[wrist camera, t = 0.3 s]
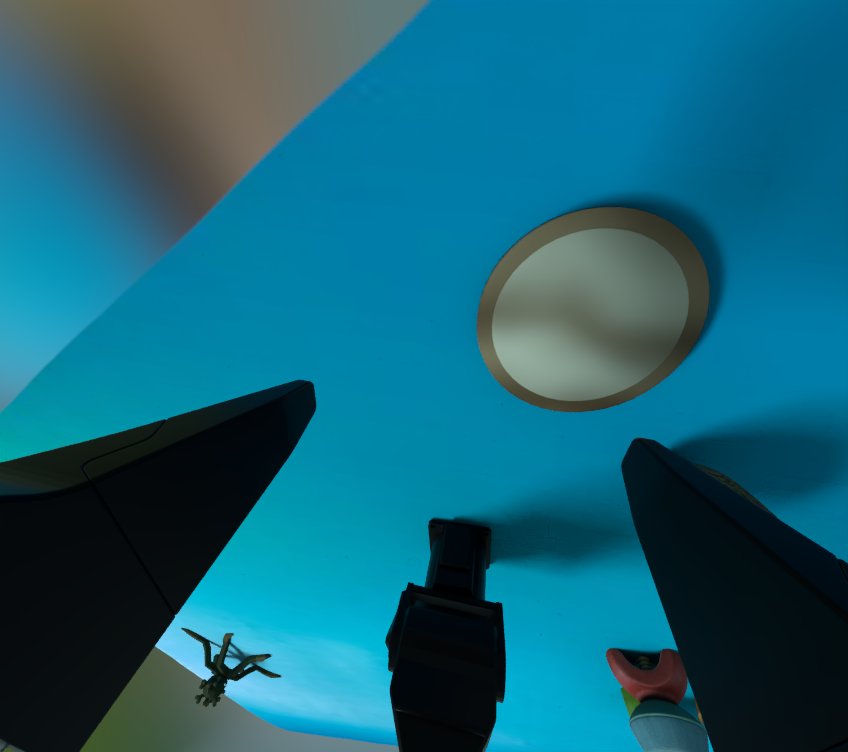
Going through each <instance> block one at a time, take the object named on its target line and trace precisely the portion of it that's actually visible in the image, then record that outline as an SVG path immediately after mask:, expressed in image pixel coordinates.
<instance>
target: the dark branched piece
mask: <svg viewBox="0 0 848 752" xmlns="http://www.w3.org/2000/svg"><path fill="white" fill-rule="evenodd" d="M181 629H182V630H183V631H185V632H186V633H187V634H188V635H190V636H191V637H193V638H194V639H196V640H198V641H200V642H201V643H203V647H204V651H205V666H206V667H207V668H208V669H210V670H211V671H212V672H211V673H212V674H214V676H212V677H211V678H210V679H209V680H208V681H206V680H202V683H201V685H200V687H199V689H202V688H203V687H204V688H203V694H201V695H196V697H195V699H197V701H196V703H197V704H198V703H199V702H200V700H201V698H202V697H205V698H206V699H205V701H204V702H203V706H205V707H207V706H208V705H209V703H212V702H213V707H215V706H216V703H217V702H219V701H220V697H218V696H219V695H220V694H221V693H223V694H224V693H225V690H224V688H225V687H226V686H224V683H226V684H227V680H230V679H231V680H234V681H238V680H239V679H241V678H243V677H244V676H246V675H247V674H249V673H251V672H254V671H255V670H257V671H259V672H260V673H262V674H264V675H266V676H268V677H270V678H278V677H281V676H280V675H278V674H274V673H272V672H269V671H267V670H265V669H263V668H261V667H260V666H257V665H255V666H252V667H249V668H248V669H246V670H245V671H244V670H243V669H244V668H245V667H246V666H247V665H248V664H250V663H253V662H256V661H264V660H265V659H267V658H269V657H271V656H270V655H269V654H262V655H252V656H249V657H248V658H247V659H245V660H244V661H243V662H242V663H240V664H239V665H238V666H236V667H235V668H233V669H229V668H228V667H227V666H226V665H225V664H224V660H225V657H226V654H227V650H228V647H229V644H230V637H231V636H233V635H234V634H233V633H226V634H225V636H224V638H223V645H222V648H221V651H220V655H218V654H216V655H215V656H214V659H213V662H211V646H210V643H209V640H207V639H205V638H203V637H202V636H200V635H198V634H196V633H194V632H192V631H190V630H189V629H185V628H181ZM239 672H240V674H238V673H239Z"/></svg>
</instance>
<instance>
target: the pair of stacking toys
mask: <svg viewBox="0 0 848 752" xmlns="http://www.w3.org/2000/svg"><path fill="white" fill-rule="evenodd" d="M606 657H607V661H608V663H609V666H610V668H611V670H612V672H613V674H614V676H615V677H616V679H617V680H618V682H619V683H620V684H621V685H622V688H621V692H622V695H623V698H624V701H625V704H626V707H627V710H628V713H629V716H630V720H629V726H630V728H631V730H632V732H633V734H634V735H635V737H636V739H637V741H638V742H639V744H640V746H641V748H642V749H643V751H644V752H709V747H708V737H707V731H706V729H705V728H704V727H703V725H702V724H704V723H703V720H702V717H701V714H700V711H699V708H698V705H697V703H696V700H695V704H696V709H697V716H698V719H699V720H700V722H701V723H702V724H701V723H700V722H699V721H698V720H696V719H695V718H694V717H693V716H692V715H691V714H689V713H688V712H687V711H685V710H684V709H682V708H681V707H679V706H678V703H679V702H680V701H681V700H682V699H683V697H684V695H685V693H686V689H687V674H686V671H685V668H684V666H683V663H682V660H681V657H680V655H679V654H678V653H677V652H675V651H673V650H671V649H663V650H662V651H661V653H660V661H659V663H658V665H657V666H656V667H655V668H654V669H653V668H652V664H651V661H650V660H649V658H647V657H642V656H641V657H637V658H636V659H637V662H638V664H639V668H640V669H639V668H636V667H635V666H633V665H632V664H630V663H629V662H628V661H627V660H626V658H625V657H624V656H623V654H622V653H621V652H620V651H619V650H617V649H615V648H610V649H608V650H607V652H606ZM694 698H695V697H694Z"/></svg>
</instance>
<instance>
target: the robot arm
mask: <svg viewBox="0 0 848 752" xmlns="http://www.w3.org/2000/svg"><path fill="white" fill-rule="evenodd" d="M315 410H316V398H315V390H314V385H313V383H312V382H310V381H305V380H296V381H292V382H289V383H286V384H282V385H279V386H275V387H272V388H269V389H265V390H262V391H259V392H255V393H252V394H248V395H245V396H242V397H238V398H235V399H232V400H228V401H225V402H221V403H218V404H215V405H211V406H208V407H205V408H201V409H198V410H194V411H191V412H188V413H184V414H181V415H178V416H174V417H171V418H168V419H167V420H165V419H164V420H160V421H157V422H154V423H150V424H147V425H143V426H140V427H136V428H133V429H129V430H126V431H122V432H119V433H115V434H111V435H107V436H104V437H100V438H96V439H92V440H89V441H85V442H81V443H77V444H73V445H69V446H65V447H61V448H57V449H53V450H49V451H45V452H41V453H37V454H33V455H30V456H26V457H22V458H18V459H14V460H10V461H5V462H1V463H0V752H4V751H5V750H6V749H7V748H8V749H10V750H12V751H15V752H80V750H81V749H82V747H83V746H84V745H85V743H86V742H87V740H88V739H89V737H90V736H91V735H92V733H93V732H94V730H95V729H96V728H97V726H98V725H99V723H100V722H101V721H102V719H103V718H104V716H105V715H106V714H107V712H108V711H109V709H110V708H111V706H112V705H113V704H114V702H115V701H116V700H117V698H118V697H119V695H120V694H121V693H122V691H123V690H124V688H125V687H126V686H127V684H128V683H129V681H130V680H131V678H132V677H133V676H134V674H135V673H136V671H137V670H138V669H139V667H140V666H141V664H142V663H143V662H144V660H145V659H146V657H147V656H148V654H149V653H150V652H151V650H152V649H153V648H154V646H155V645H156V643H157V642H158V641H159V639H160V638H161V636H162V635H163V634H164V632H165V631H166V629H167V628H168V627H169V625H170V624H171V622H172V621H173V620H174V618H175V615H176V614H177V613H178V612H179V611H180V609H181V608H182V607H183V605H184V604H185V602H186V601H187V599H188V598H189V597H190V595H191V594H192V592H193V591H194V590H195V588H196V587H197V585H198V584H199V583H200V581H201V580H202V578H203V577H204V576H205V574H206V573H207V571H208V570H209V569H210V567H211V566H212V564H213V563H214V562H215V560H216V559H217V557H218V556H219V555H220V553H221V552H222V550H223V549H224V548H225V546H226V545H227V543H228V542H229V541H230V539H231V538H232V536H233V535H234V533H235V532H236V531H237V529H238V528H239V526H240V525H241V524H242V522H243V521H244V519H245V518H246V517H247V515H248V514H249V512H250V511H251V510H252V508H253V507H254V505H255V504H256V503H257V501H258V500H259V498H260V497H261V496H262V494H263V493H264V491H265V490H266V489H267V487H268V486H269V484H270V483H271V482H272V480H273V479H274V477H275V476H276V475H277V473H278V472H279V470H280V469H281V467H282V466H283V465H284V463H285V462H286V460H287V459H288V458H289V456H290V455H291V453H292V452H293V450H294V448H295V447H296V445H297V443H298V441H299V439H300V438H301V436H302V434H303V432H304V431H305V429H306V427H307V425H308V423H309V422H310V420H311V418H312V416H313V415H314V413H315ZM621 469H622V474H623V479H624V483H625V487H626V492H627V496H628V501H629V505H630V509H631V514H632V518H633V522H634V525H635V528H636V531H637V534H638V537H639V540H640V543H641V546H642V549H643V551H644V554H645V557H646V560H647V563H648V566H649V569H650V571H651V574H652V577H653V580H654V583H655V586H656V589H657V591H658V594H659V597H660V600H661V603H662V606H663V609H664V611H665V614H666V617H667V620H668V623H669V626H670V628H671V631H672V634H673V637H674V640H675V643H676V646H677V648H678V651H679V654H680V657H681V660H682V663H683V666H684V668H685V671H686V674H687V677H688V680H689V683H690V685H691V688H692V691H693V694H694V697H695V700H696V703H697V705H698V708H699V711H700V714H701V717H702V720H703V723H704V725H705V728H706V731H707V734H708V737H709V740H710V742H711V745H712V748H713V751H714V752H848V563H847V562H845V561H843V560H842V559H837V558H836V556H835V555H834V554H832V553H831V552H829V551H828V550H826V549H824V548H823V547H821V546H820V545H818V544H817V543H815V542H813V541H812V540H810V539H809V538H807V537H806V536H804V535H802V534H801V533H799V532H798V531H796V530H795V529H793V528H791V527H790V526H788V525H787V524H785V523H784V522H782V521H781V520H779V519H777V518H776V517H774V516H773V515H771V514H770V513H768V512H766V511H765V510H763V509H762V508H760V507H759V506H757V505H755V504H754V503H752V502H751V501H749V500H748V499H746V498H744V497H743V496H741V495H740V494H738V493H737V492H735V491H733V490H732V489H730V488H729V487H727V486H726V485H724V484H722V483H721V482H719V481H718V480H716V479H715V478H713V477H711V476H710V475H708V474H707V473H705V472H704V471H702V470H701V469H699V468H697V467H696V466H694V465H693V464H691V463H690V462H688V461H686V460H685V459H683V458H682V457H680V456H679V455H677V454H675V453H674V452H672V451H671V450H669V449H668V448H666V447H664V446H663V445H661V444H660V443H658V442H657V441H655V440H651V439H645V438H635V439H634V440H633V441H632V442H631V444H630V446H629V448H628V450H627V452H626V454H625V456H624V458H623V461H622V465H621ZM428 528H429V540H430V551H431V556H430V561H429V566H428V571H427V577H426V582H425V587H422V586H418V585H414V583H410V582H408V585H407V588H406V590H405V591H402V593H401V597H400V601H399V605H398V609H397V612H396V615H395V617H394V619H393V622H392V624H391V626H390V629H389V631H388V633H387V636H386V641H385V643H386V646H387V648H388V650H389V653H388V658H389V662H388V670H389V671H391V672H393V675H392V680H391V685H390V697H391V703H392V710H393V716H394V722H395V728H396V735H397V741H398V747H399V752H485V750H486V748H487V746H488V743H489V740H490V737H491V734H492V731H493V728H494V725H495V722H496V701H497V702H500V703H503V701H504V694H505V679H506V653H505V637H504V622H503V607H502V603H499V602H496V603H494V602H489V601H485V582H486V569H489V565H490V547H491V530H490V529H489V528H486V527H479V526H472V525H465V524H458V523H451V522H444V521H436V520H430V521H429V525H428Z"/></svg>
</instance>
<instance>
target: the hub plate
mask: <svg viewBox="0 0 848 752" xmlns="http://www.w3.org/2000/svg"><path fill="white" fill-rule="evenodd" d="M709 298H710V293H709V279H708V274H707V270H706V266H705V264H704V262H703V259H702V257H701V254H700V253H699V251H698V250H697V248H696V247H695V245H694V243H693V242H692V241H691V240H690V239H689V238H688V237H687V236H686V235H685V234H684V233H683V231H682V230H680V229H679V228H677V227H676V226H675V225H673V224H672V223H670V222H669V221H667V220H665V219H663V218H661V217H659V216H657V215H655V214H651V213H648V212H645V211H641V210H638V209H631V208H624V207H598V208H590V209H583V210H578V211H574V212H571V213H567V214H563V215H561V216H559V217H556V218H554V219H551V220H549V221H547V222H545V223H543V224H542V225H540V226H538V227H536V228H534V229H533V230H532V231H530V232H529V233H527V234H526V235H525V236H523V237H522V238H521V239H519V240H518V241H517V242H516V243H515V244H514V245H513V246H512V247H511V248H510V249H509V250H508V251H507V252H506V253H505V254H504V256H503V257H502V258H501V259H500V260H499V262H498V263H497V265H496V266H495V268H494V269H493V271H492V273H491V274H490V276H489V278H488V280H487V282H486V284H485V287H484V290H483V293H482V296H481V300H480V304H479V309H478V316H477V338H478V343H479V348H480V351H481V354H482V357H483V360H484V362H485V364H486V365H487V367H488V369H489V371H490V372H491V374H492V375H493V376H494V378H495V379H496V380H497V381H498V382H499V383H500V384H501V385H502V386H503V387H504V388H505V389H506V390H508V391H509V392H510V393H511V394H513V395H514V396H516V397H518V398H519V399H521V400H523V401H525V402H527V403H529V404H532V405H535V406H538V407H541V408H544V409H549V410H553V411H562V412H585V411H594V410H600V409H605V408H608V407H612V406H615V405H619V404H621V403H624V402H626V401H629V400H631V399H633V398H635V397H637V396H639V395H641V394H643V393H645V392H647V391H648V390H650V389H651V388H653V387H654V386H656V385H657V384H659V383H660V382H661V381H662V380H664V379H665V378H666V377H667V376H669V375H670V374H671V373H672V372H673V371H674V370H675V369H676V368H677V367H678V366H679V365H680V364H681V362H682V361H683V360H684V359H685V357H686V356H687V355H688V354H689V352H690V351H691V349H692V347H693V346H694V344H695V343H696V341H697V339H698V337H699V335H700V333H701V330H702V328H703V326H704V322H705V319H706V316H707V312H708V305H709Z"/></svg>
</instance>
